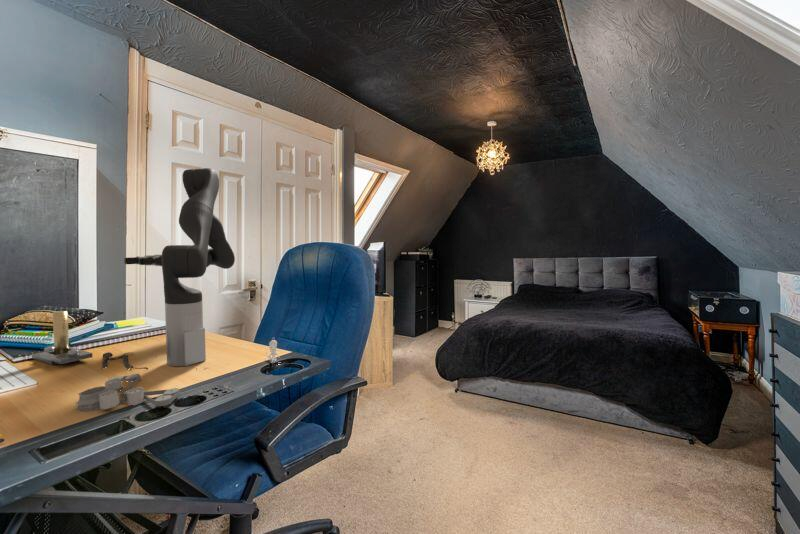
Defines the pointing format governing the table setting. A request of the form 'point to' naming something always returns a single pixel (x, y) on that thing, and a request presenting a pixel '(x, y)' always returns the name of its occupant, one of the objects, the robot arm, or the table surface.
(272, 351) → the toy figurine
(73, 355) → the grey base plate
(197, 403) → the table surface
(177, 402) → the table surface
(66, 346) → the pin
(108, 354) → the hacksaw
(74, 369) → the table surface
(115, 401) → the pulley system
